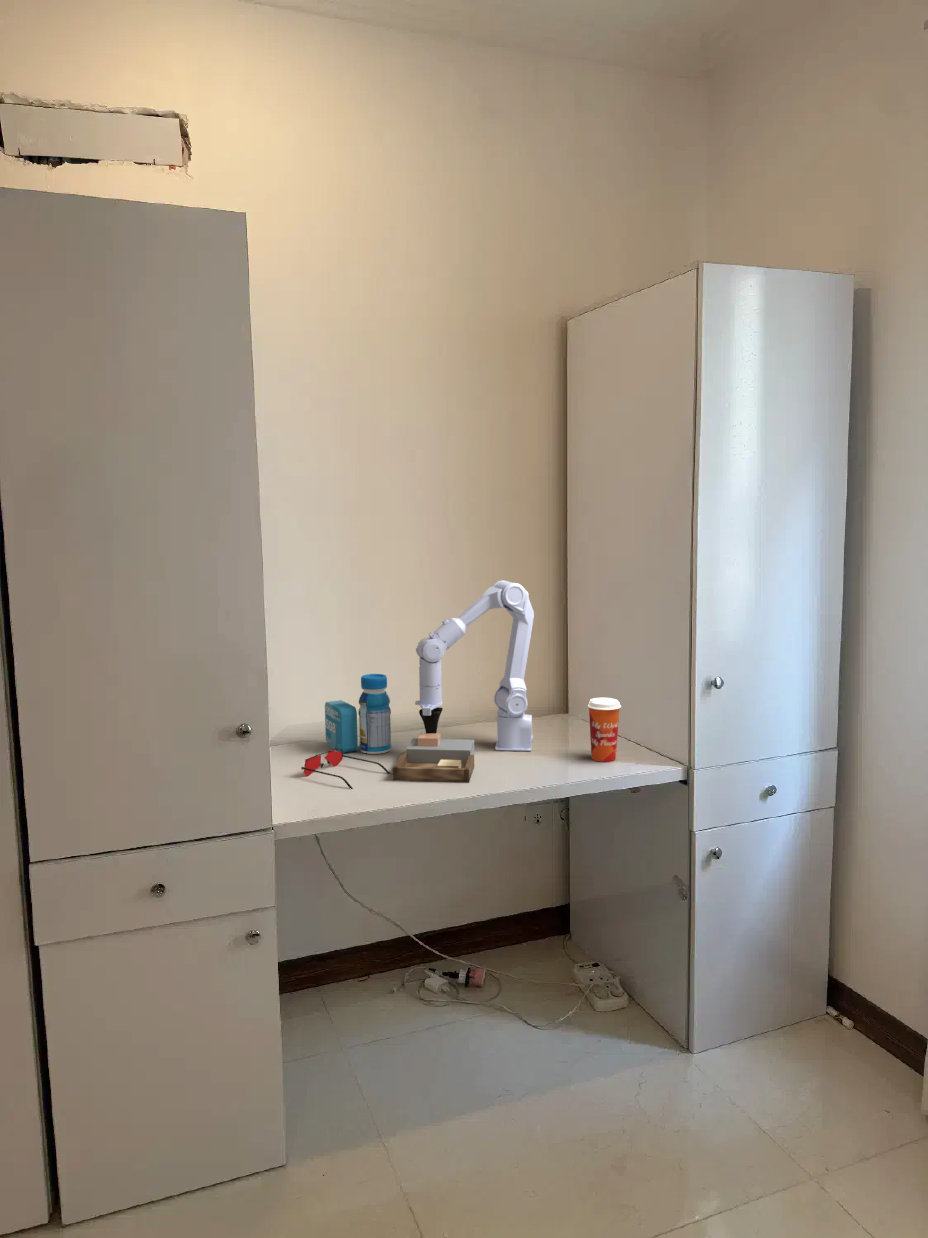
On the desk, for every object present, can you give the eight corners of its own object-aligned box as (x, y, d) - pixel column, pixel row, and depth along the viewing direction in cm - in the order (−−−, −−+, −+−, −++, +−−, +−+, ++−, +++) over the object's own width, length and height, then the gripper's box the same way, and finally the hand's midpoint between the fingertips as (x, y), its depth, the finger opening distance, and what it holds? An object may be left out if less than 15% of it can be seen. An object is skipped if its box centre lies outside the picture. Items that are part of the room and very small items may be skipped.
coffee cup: (589, 763, 218) (589, 704, 216) (585, 754, 226) (585, 697, 224) (623, 763, 217) (623, 704, 216) (618, 754, 226) (618, 697, 224)
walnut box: (474, 766, 216) (474, 754, 216) (469, 782, 204) (469, 769, 203) (402, 765, 218) (402, 753, 218) (392, 780, 206) (392, 768, 205)
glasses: (340, 764, 221) (340, 745, 220) (391, 775, 211) (390, 755, 211) (300, 778, 209) (299, 758, 209) (352, 791, 200) (351, 769, 199)
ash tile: (458, 766, 208) (458, 774, 208) (461, 760, 213) (461, 768, 213) (437, 765, 208) (437, 773, 209) (440, 759, 213) (440, 767, 214)
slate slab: (474, 754, 226) (474, 739, 226) (470, 766, 216) (470, 750, 216) (413, 753, 228) (412, 738, 228) (406, 764, 218) (406, 749, 218)
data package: (325, 744, 238) (324, 701, 237) (341, 741, 240) (340, 699, 239) (342, 754, 228) (340, 709, 226) (358, 752, 230) (357, 707, 228)
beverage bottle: (380, 756, 226) (379, 680, 223) (353, 752, 229) (351, 677, 227) (397, 748, 233) (396, 674, 231) (370, 744, 237) (368, 671, 234)
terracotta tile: (440, 741, 225) (440, 733, 224) (437, 746, 220) (437, 738, 220) (421, 740, 225) (421, 733, 225) (418, 746, 220) (417, 738, 220)
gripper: (419, 679, 232) (420, 729, 234) (410, 690, 218) (411, 743, 219) (446, 679, 231) (446, 729, 233) (438, 690, 217) (439, 744, 219)
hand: (431, 736), depth 226 cm, fingers closed
